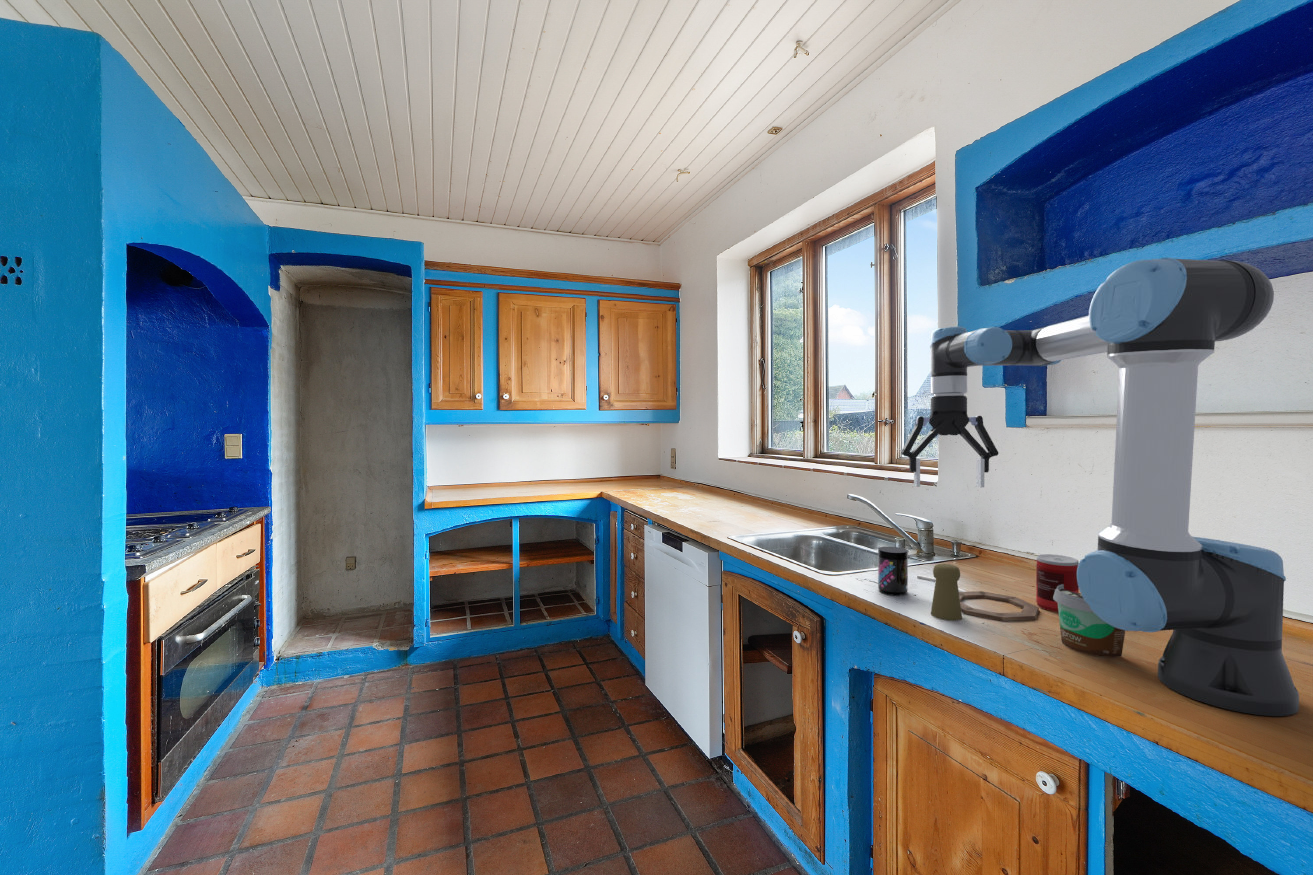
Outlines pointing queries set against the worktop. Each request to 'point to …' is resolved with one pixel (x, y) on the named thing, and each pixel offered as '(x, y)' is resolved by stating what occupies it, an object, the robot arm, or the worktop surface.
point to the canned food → (1054, 578)
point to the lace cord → (934, 580)
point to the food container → (1086, 627)
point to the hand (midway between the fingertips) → (948, 486)
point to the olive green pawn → (946, 593)
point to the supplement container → (893, 570)
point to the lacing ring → (1026, 614)
